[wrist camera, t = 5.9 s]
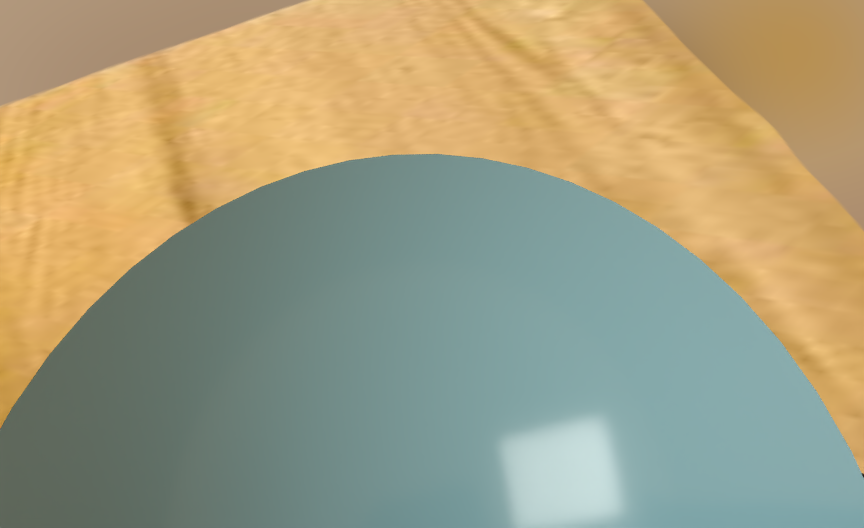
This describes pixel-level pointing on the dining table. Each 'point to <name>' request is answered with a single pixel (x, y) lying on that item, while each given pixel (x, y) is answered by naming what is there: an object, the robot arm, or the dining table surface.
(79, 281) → the dining table surface
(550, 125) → the dining table surface
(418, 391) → the blue-grey tall faceted cylinder
